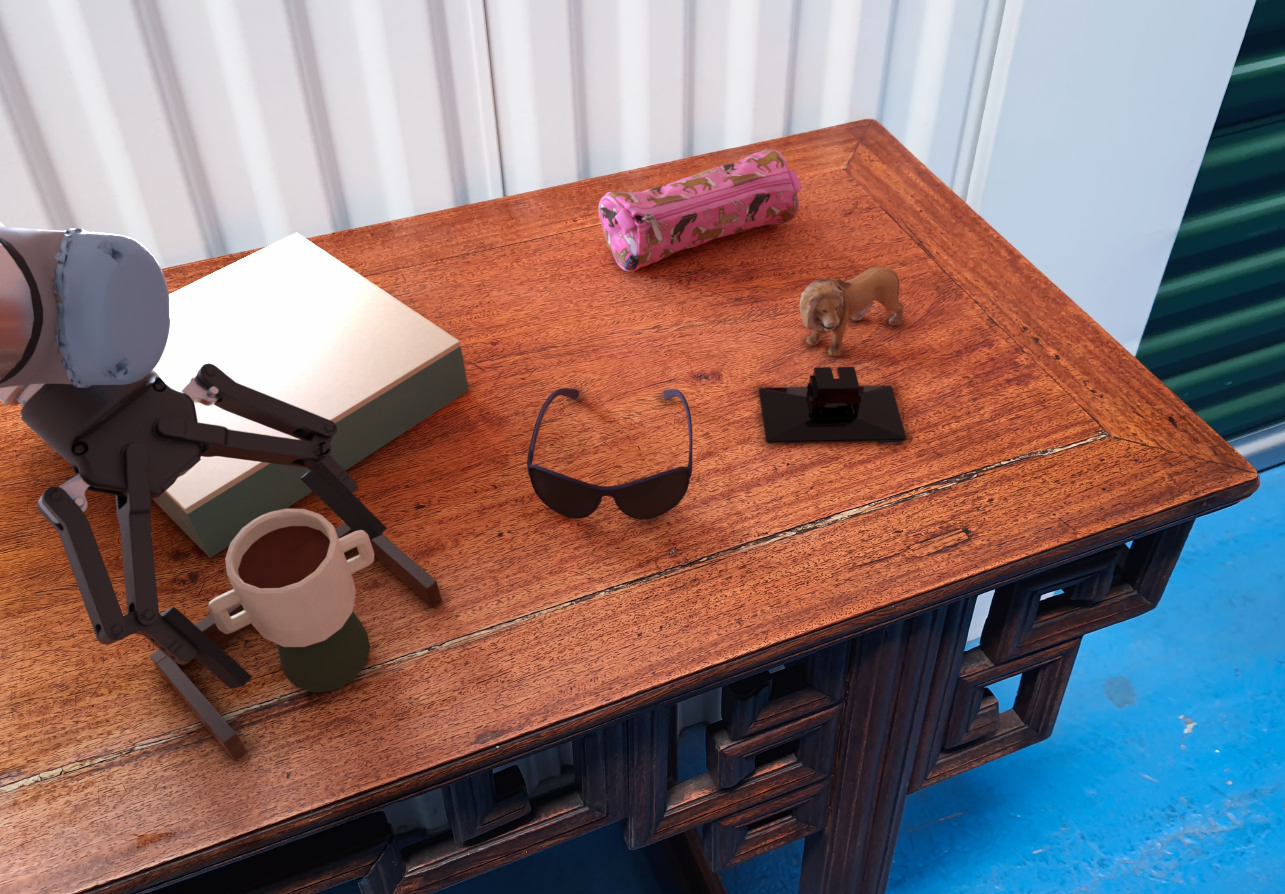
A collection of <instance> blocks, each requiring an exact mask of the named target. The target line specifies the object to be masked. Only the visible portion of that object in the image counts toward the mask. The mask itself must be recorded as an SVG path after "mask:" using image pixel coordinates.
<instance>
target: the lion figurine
mask: <svg viewBox="0 0 1285 894" xmlns="http://www.w3.org/2000/svg"><path fill="white" fill-rule="evenodd" d="M899 297H900V278H899V275H898V273H897V272H896V271H895V270H894V269H892V268H889V267H883V266H873V267H869V268H867V269H866V270H864V271H863V272H861V273H860V274H858V275H856V276H855V277H853V278H851V279H848V280H846V281H843V280H842V279H840V278H830V277H826V278H823V277H822V278H819V279H817V280H815V281H812V282H810V284H808V285H807V286H806V288H805V289H804V290H803V291H802V292H801V294H800V300H799V309H798V310H799V312H800V317H801V322H802V323H803V325H804V327H805V328H806V329H808V330H811V332H812V333H811V335H807V337H806V340H805V343H806V344H807V345H809V346H812V347H813V346H816V345H817V344H818V343H819V342H820V339H821V336H822V335H827V334H829V333H831V332H832V333H833V334H832V339H831V342H830V347H829V348H828V354H829V356H830V357H840V356H841V354H842V349H843V339H844V335H845V333H846V331H847V330H846V329H847V324H848V319H851V320H852V321H854V322H855V321H856V322H857V321H860V320H862V319H863V318H864V317H865V315H866V314H867V313H868V312H869V310H870V309H872V307H873V305H874V302H873V301H877V302H878V303H879V304H880V305H881V306H883V308H885V310H888V311H890V312H894V315H892V316H890V317H889V318H888V324H889V325H891V326H894V327H897V326H900V325H901V323H902V320H903V312H904V303H902V302H901V300H900V299H899Z"/></svg>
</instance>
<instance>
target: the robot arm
mask: <svg viewBox="0 0 1285 894" xmlns="http://www.w3.org/2000/svg"><path fill="white" fill-rule="evenodd" d="M169 294H170V292H169V287H168V284H167V280H166V277H165V274H164V272H163V270H162V267H161V266H160V264H159V262H158V261H157V259H156V257H155V256H154V255H153V253H152V252H151V251H150V250H149V249H148V248H147V247H146V246H144V244H143V243H141V242H139V241H138V240H136V239H135V238H132V237H129V236H127V235H124V234H118V233H106V232H95V231H87V230H86V229H83V228H68V229H66V230H61V229H60V230H59V229H40V228H39V229H37V228H25V227H24V228H23V227H22V228H21V227H13V226H12V227H11V226H10V227H9V226H5V225H4V224H3V223H2V222H1V221H0V401H1V402H2V404H4V405H5V406H6V407H7V406H9V407H10V406H11V407H15V406H18V405H21V407H22V408H21V410H20V413H19V414H20V415H21V418H20V420H21V421H22V422H23V423H25V424H26V425H27V427H28V428H29V429H31V430H32V431H33V432H34V433H35V434H36V435H37V436H38V437H40V439H42V440H43V441H44V442H45V443H46V444H47V445H48V446H49V447H50V448H51V449H52V450H54V451H55V452H56V453H57V454H58V455H59V456H60V457H62V458H63V459H64V460H65V461H66V462H68V463H69V465H70V466H71V468H72V469H73V471H74V476H72V477H71V478H69V479H67V480H66V481H65V482H63V483H62V484H60V485H59V486H50V487H48V488H47V489H46V490H45V491H43V493H42V495H41V496H40V497H39V499H38V500H37V502H36V508H37V510H38V512H39V513H40V514H41V515H42V517H44V519H45V520H46V521H47V522H48V523H49V524H50V525H51V526H52V527H53V528H54V529H55V531H56V532H57V533H58V536H59V538H60V541H61V544H62V546H63V549H64V552H65V555H66V557H67V560H68V563H69V565H70V568H71V571H72V574H73V577H74V580H75V582H76V585H77V587H78V590H79V593H80V596H81V599H82V602H83V604H84V607H85V610H86V612H87V615H88V618H89V621H90V623H91V626H92V629H93V632H94V634H95V637H96V640H97V641H98V643H100V644H102V645H104V646H109V645H112V644H114V643H117V642H119V641H121V640H123V639H126V638H127V637H129V636H132V635H141V636H142V637H144V638H146V640H148V641H149V642H150V643H151V644H153V645H154V646H155V647H156V648H157V650H158V649H159V650H161V651H162V652H163V653H164V654H165V655H166V656H168V657H169V658H170V659H171V660H172V661H173V662H175V663H178V664H181V665H185V664H187V663H189V662H190V661H191V660H192V659H193V658H195V659H197V660H198V662H199V663H200V664H201V665H202V666H203V667H204V668H206V669H207V670H208V671H209V672H210V673H211V674H212V675H213V676H215V677H216V679H218V680H219V681H220V682H222V684H224V686H226V687H227V688H228V689H229V690H234V689H238V688H241V687H242V688H243V687H245V686H246V685H247V684H248V682H249V681H250V680H251V679H252V678H253V675H252V674H251V673H249V672H248V671H247V670H246V669H245V668H244V667H243V666H242V665H240V663H238V662H237V661H236V660H235V659H234V658H233V657H231V656H230V655H229V653H227V652H226V651H225V650H223V648H221V647H220V646H218V645H217V644H216V643H214V642H213V641H212V640H211V639H210V638H209V637H208V636H207V635H205V634H204V633H203V632H202V631H201V630H200V629H199V628H198V627H197V626H195V623H194V622H192V621H191V620H190V619H189V618H188V617H187V616H186V615H185V614H183V612H181V611H180V610H179V609H178V608H176V606H171V607H169V608H168V609H166V610H164V611H162V612H161V613H160V610H159V598H158V586H157V576H156V575H157V574H156V565H155V555H154V553H155V552H154V543H153V532H152V531H153V530H152V521H151V513H152V500H153V498H158V497H159V496H160V495H161V494H162V493H164V492H165V491H166V490H167V489H168V488H169V487H170V486H172V485H173V484H174V483H175V481H176V480H177V478H178V477H180V476H182V475H184V474H185V473H186V472H188V471H189V470H190V469H191V468H192V467H193V466H194V465H196V464H197V463H198V462H199V461H200V460H201V459H200V458H201V456H202V457H214V456H219V457H227V458H235V459H242V460H250V461H258V462H266V463H273V464H281V465H289V466H296V467H304V468H308V469H309V471H308V472H307V473H306V474H305V475H304V476H303V477H301V478H300V479H301V480H302V481H303V482H304V483H305V484H306V485H307V486H308V487H309V488H310V489H311V490H312V491H313V492H312V493H314V495H316V496H317V497H318V498H319V499H320V500H321V501H322V502H323V503H324V504H325V505H326V506H327V507H328V508H329V509H330V510H331V511H332V512H333V513H334V514H335V515H336V516H337V517H338V518H339V519H340V520H341V521H342V522H343V523H345V524H346V525H348V526H349V527H350V528H351V529H352V530H353V531H358V530H363V531H365V532H366V533H367V534H368V536H369V539H370V540H372V539H374V538H376V537H378V536H380V535H381V534H384V532H385V531H386V530H387V529H388V527H387V526H386V525H385V524H384V522H382V521H381V520H380V519H379V518H378V517H377V516H376V515H375V514H374V513H373V512H372V511H371V510H370V509H369V508H368V507H367V506H366V505H365V504H364V503H363V502H362V501H361V500H360V499H359V498H358V497H357V496H356V495H355V494H354V493H355V492H356V491H357V489H359V486H358V484H357V481H356V480H355V479H354V478H353V477H352V476H351V475H350V473H348V472H347V470H344V469H343V468H342V467H341V466H340V465H339V464H338V463H337V462H336V461H335V460H334V459H333V458H332V457H331V456H330V453H331V445H330V442H331V439H332V437H333V435H335V434H336V432H337V426H336V424H335V423H334V422H333V421H331V420H328V419H326V418H323V417H321V416H318V415H316V414H313V413H311V412H308V411H306V410H303V409H301V408H298V407H296V406H293V405H291V404H289V403H286V402H284V401H281V400H279V399H276V398H274V397H271V396H269V395H266V394H264V393H261V392H259V391H256V390H254V389H251V388H249V387H246V386H244V385H241V384H239V383H236V382H235V381H234V380H233V379H231V378H230V377H229V376H228V375H226V374H225V373H224V372H223V371H221V370H220V369H219V368H218V367H217V366H215V365H213V364H210V363H207V364H204V365H203V366H202V367H201V368H200V369H199V370H198V371H197V372H196V373H195V374H194V376H193V377H192V378H191V380H190V383H189V384H188V385H187V386H186V387H185V388H184V389H183V390H182V391H178V390H175V389H173V388H171V387H170V386H168V385H167V384H166V383H165V382H164V381H163V380H162V379H161V378H160V376H159V375H158V374H157V373H156V372H155V371H154V370H153V369H154V368H155V367H156V365H157V364H158V362H159V361H160V359H161V357H162V355H163V352H164V350H165V347H166V344H167V340H168V336H169V330H170V321H171V320H170V306H169V303H170V298H169ZM194 403H201V404H203V405H206V406H211V405H213V404H214V405H216V406H217V407H219V408H221V409H223V410H225V411H228V412H230V413H233V414H236V415H238V416H241V417H243V418H246V419H249V420H251V421H254V422H256V423H259V424H261V425H264V426H267V427H269V428H272V429H274V430H277V431H280V432H282V433H285V434H287V435H290V436H293V437H295V438H298V439H300V440H297V439H290V438H283V437H276V436H270V435H263V434H256V433H249V432H242V431H235V430H229V429H227V428H226V427H224V426H218V425H211V424H204V423H198V420H197V414H196V409H195V404H194ZM86 491H90V492H93V493H94V492H95V493H101V494H107V495H113V496H115V506H116V507H115V508H116V517H117V522H118V524H119V530H120V531H119V533H120V545H121V554H122V555H121V556H122V567H123V568H122V569H123V578H124V589H125V600H126V613H127V614H125V615H124V613H123V611H122V608H121V606H120V603H119V600H118V597H117V595H116V592H115V589H114V585H113V583H112V580H111V579H110V575H109V573H108V570H107V567H106V563H105V561H104V559H103V556H102V554H101V551H100V548H99V544H98V542H97V540H96V537H95V535H94V531H93V529H92V526H91V523H90V522H89V520H88V517H87V516H86V514H85V512H86V511H87V509H88V506H89V501H88V500H87V498H86Z"/></svg>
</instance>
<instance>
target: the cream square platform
mask: <svg viewBox="0 0 1285 894" xmlns="http://www.w3.org/2000/svg"><path fill="white" fill-rule="evenodd" d="M169 298H170V303H169V306H170V320H171V321H170V330H169V336H168V340H167V344H166V347H165V350H164V352H163V355H162V357H161V359H160V361H159V362H158V364H157V365H156V367H155V368H154V369H153V370H154V371H155V372H156V373H157V374H158V375H159V376H160V378H161V379H162V380H163V381H164V382H165V383H166V384H167V385H168V386H170V387H171V388H173V389H175V390H178V391H182V390H183V389H184V388H185V387H186V386H187V385H188V384H189V383H190V380H191V378H192V377H193V376H194V374H195V373H196V372H197V371H198V370H199V369H200V368H201V367H202V366H203V365H204V364H207V363H210V364H213V365H215V366H217V367H218V368H219V369H220V370H221V371H223V372H224V373H225V374H226V375H228V376H229V377H230V378H231V379H233V380H234V381H235V382H236V383H239V384H241V385H244V386H246V387H249V388H251V389H254V390H256V391H259V392H261V393H264V394H266V395H269V396H271V397H274V398H276V399H279V400H281V401H284V402H286V403H289V404H291V405H293V406H296V407H298V408H301V409H303V410H306V411H308V412H311V413H313V414H316V415H318V416H321V417H323V418H326V419H328V420H331V421H333V422H334V423H335V424H336V426H337V432H336V434H335V435H333V437H332V439H331V442H330V445H331V453H330V456H331V457H332V458H333V459H334V460H335V461H336V462H337V463H338V464H339V465H340V466H341V467H342V468H343V469H344V470H345V471H347V470H349V469H351V468H352V467H353V466H355V465H356V464H358V463H360V462H361V461H363V460H364V459H366V458H367V457H369V456H370V455H372V454H373V453H375V452H376V451H378V450H380V449H381V448H383V447H384V446H386V445H387V444H389V443H390V442H392V441H393V440H396V438H398V437H400V436H401V435H403V434H405V433H406V432H407V431H409V430H410V429H412V428H413V427H415V426H416V425H418V424H419V423H421V422H423V421H424V420H426V419H427V418H429V417H430V416H432V415H433V414H435V413H437V412H438V411H440V410H442V409H443V408H444V407H446V406H447V405H449V404H451V403H452V402H454V401H455V400H456V399H458V398H459V397H461V396H463V395H465V394H466V393H468V392H469V391H470V387H469V383H468V378H467V372H466V366H465V362H464V357H463V350H462V346H461V341H460V340H459V339H457V338H456V337H455V336H453V335H451V334H450V333H448V332H447V331H445V330H444V329H442V328H441V327H439V326H438V325H436V324H435V323H433V322H432V321H430V320H429V319H427V318H426V317H425V316H423V315H422V314H420V313H418V312H417V311H415V310H414V309H412V308H411V307H410V306H408V305H407V304H405V303H403V302H402V301H401V300H399V299H397V298H396V297H394V296H393V295H391V294H390V293H388V292H386V291H385V290H384V289H382V288H381V287H379V286H377V285H376V284H375V283H374V282H371V281H370V280H369V279H367V278H366V277H365V276H363V275H361V274H359V272H357V271H355V270H354V269H352V268H351V267H349V266H348V265H346V264H345V263H343V262H342V261H340V260H339V259H337V258H336V257H334V256H333V255H331V254H330V253H328V252H327V251H325V250H324V249H322V248H321V247H320V246H318V245H316V244H315V243H314V242H312V241H310V240H309V239H307V238H306V237H304V236H303V235H302V234H300V233H298V232H294V233H293V234H290V235H288V236H286V237H284V238H283V239H280V240H278V241H276V242H274V243H272V244H270V245H268V246H266V247H264V248H262V249H260V250H258V251H256V252H254V253H252V254H250V255H247V256H246V257H244V258H241V259H239V260H237V261H236V262H233V263H231V264H229V265H226V266H225V267H223V268H221V269H218V270H216V271H214V272H213V273H211V274H208V275H206V276H203V277H202V278H200V279H197V280H196V281H194V282H192V283H190V284H188V285H186V286H184V287H182V288H180V289H178V290H175V291H174V292H172V293H169ZM194 404H195V409H196V414H197V420H198V423H204V424H211V425H218V426H224V427H226V428H227V429H229V430H235V431H242V432H249V433H256V434H263V435H270V436H276V437H283V438H290V439H297V440H300V439H298V438H295V437H293V436H290V435H287V434H285V433H282V432H280V431H277V430H274V429H272V428H269V427H267V426H264V425H261V424H259V423H256V422H254V421H251V420H249V419H246V418H243V417H241V416H238V415H236V414H233V413H230V412H228V411H225V410H223V409H221V408H219V407H217V406H216V405H214V404H213V405H211V406H206V405H203V404H201V403H194ZM200 459H201V460H200V461H199V462H198V463H197V464H196V465H194V466H193V467H192V468H191V469H190V470H189V471H188V472H186V473H185V474H184V475H182V476H180V477H178V478H177V480H176V481H175V483H174V484H173V485H172V486H170V487H169V488H168V489H167V490H166V491H165V492H164V493H162V494H161V495H160V496H159V497H158V498H153V499H152V501H153V502H154V503H155V504H156V505H157V506H158V507H159V508H160V509H161V510H162V511H163V512H164V513H165V514H166V515H167V516H168V517H169V518H170V519H171V520H172V521H173V522H174V523H175V524H176V525H177V526H178V527H179V528H180V529H181V530H182V531H183V533H185V535H187V537H189V539H190V540H191V541H193V542H194V544H196V546H197V547H198V548H199V549H200V550H201V551H202V552H203V553H204V554H205V555H206V556H207V557H208V558H209V559H212V558H213V557H214V556H216V555H218V554H219V553H221V552H222V551H224V550H226V549H227V548H229V546H230V543H231V541H232V540H233V539H234V538H235V537H236V535H237V534H238V533H239V532H240V530H241V529H242V528H243V527H245V526H246V525H247V524H249V523H250V522H251V521H253V520H254V519H256V518H258V517H260V516H261V515H264V514H267V513H269V512H272V511H277V510H282V509H289V508H291V506H293V505H295V504H296V503H298V502H299V501H301V500H302V499H304V498H306V497H307V496H309V495H310V494H312V493H314V492H313V491H312V490H311V489H310V488H309V487H308V486H307V485H306V484H305V483H304V482H303V481H302V480H301V479H300V478H301V477H303V476H304V475H305V474H306V473H307V472H308V471H309V469H308V468H304V467H296V466H289V465H281V464H273V463H266V462H258V461H250V460H242V459H235V458H227V457H219V456H214V457H202V456H201V458H200Z"/></svg>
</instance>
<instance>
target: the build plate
mask: <svg viewBox="0 0 1285 894" xmlns="http://www.w3.org/2000/svg"><path fill="white" fill-rule="evenodd" d="M832 369H833V368H832V367H831V366H824V367H823V366H822V367H821V366H819V367H813V374H811V375H809V379H808V382H807V383H806V386H790V387H789V386H787V387H783V386H782V387H759V389H758V396H759V404H760V409H761V410H760V411H761V417H762V423H763V431H764V437H765V438H764V439H765V443H766V444H768V445H770V444H820V443H822V444H823V443H825V444H827V443H828V444H829V443H873V442H875V443H878V444H881V445H883V444H886V445H887V444H891V445H893V444H900V443H902V442H905V441H906V440H907V439H906V438H907V436H906V431H905V428H904V425H903V422H902V418H901V414H900V410H899V407H898V404H897V400H896V396H895V393H894V389H893V387H892V386H891V385H860V384H859V380H858V376H857V371H856V367H855V366H837V367H836V372H837V373H836V374H837V378H834V373H833V370H832Z"/></svg>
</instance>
